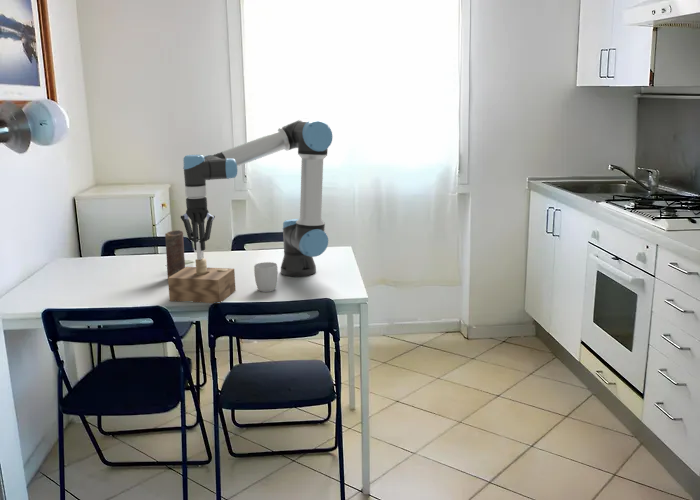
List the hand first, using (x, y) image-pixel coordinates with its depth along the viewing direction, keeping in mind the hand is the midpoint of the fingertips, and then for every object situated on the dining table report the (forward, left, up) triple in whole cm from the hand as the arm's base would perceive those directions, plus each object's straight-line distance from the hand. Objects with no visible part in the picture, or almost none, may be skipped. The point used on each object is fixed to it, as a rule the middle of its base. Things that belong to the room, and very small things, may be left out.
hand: (200, 258), depth 255 cm
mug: (-21, -13, -15) cm, 29 cm away
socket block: (0, 0, -15) cm, 15 cm away
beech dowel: (0, 0, -9) cm, 9 cm away
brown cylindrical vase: (+21, -21, -15) cm, 33 cm away
